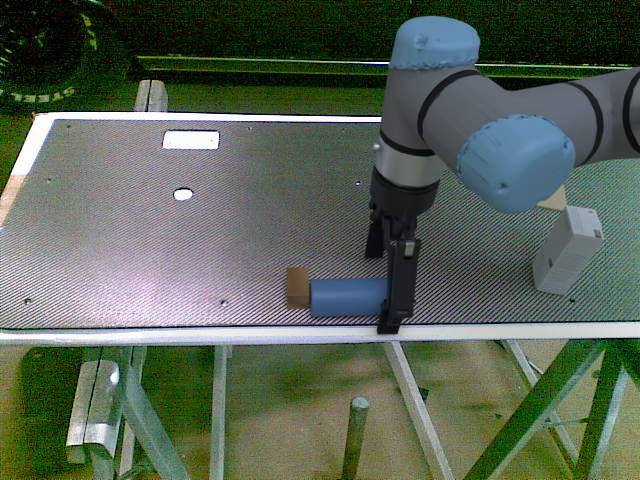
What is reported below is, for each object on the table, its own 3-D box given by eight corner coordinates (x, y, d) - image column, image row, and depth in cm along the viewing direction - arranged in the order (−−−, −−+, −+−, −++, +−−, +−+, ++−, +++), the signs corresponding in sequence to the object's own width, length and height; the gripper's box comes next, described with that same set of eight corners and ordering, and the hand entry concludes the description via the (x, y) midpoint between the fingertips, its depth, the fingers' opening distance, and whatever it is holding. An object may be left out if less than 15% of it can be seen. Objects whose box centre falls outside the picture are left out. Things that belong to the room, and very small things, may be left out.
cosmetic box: (530, 262, 74) (562, 202, 65) (560, 267, 73) (596, 208, 65) (535, 292, 69) (570, 232, 61) (567, 298, 69) (606, 238, 60)
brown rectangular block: (307, 281, 68) (308, 267, 66) (308, 309, 65) (309, 295, 63) (286, 281, 68) (286, 267, 66) (286, 309, 65) (286, 295, 63)
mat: (567, 213, 83) (568, 211, 82) (514, 202, 84) (515, 200, 84) (562, 182, 89) (563, 181, 89) (513, 173, 90) (513, 171, 90)
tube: (400, 270, 64) (406, 304, 61) (392, 287, 68) (398, 320, 65) (310, 272, 62) (312, 307, 60) (308, 289, 67) (310, 322, 64)
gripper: (360, 110, 61) (345, 230, 76) (391, 251, 43) (363, 371, 58) (418, 111, 61) (391, 230, 76) (472, 251, 44) (424, 370, 59)
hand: (379, 291), depth 67 cm, fingers open, 13 cm apart
